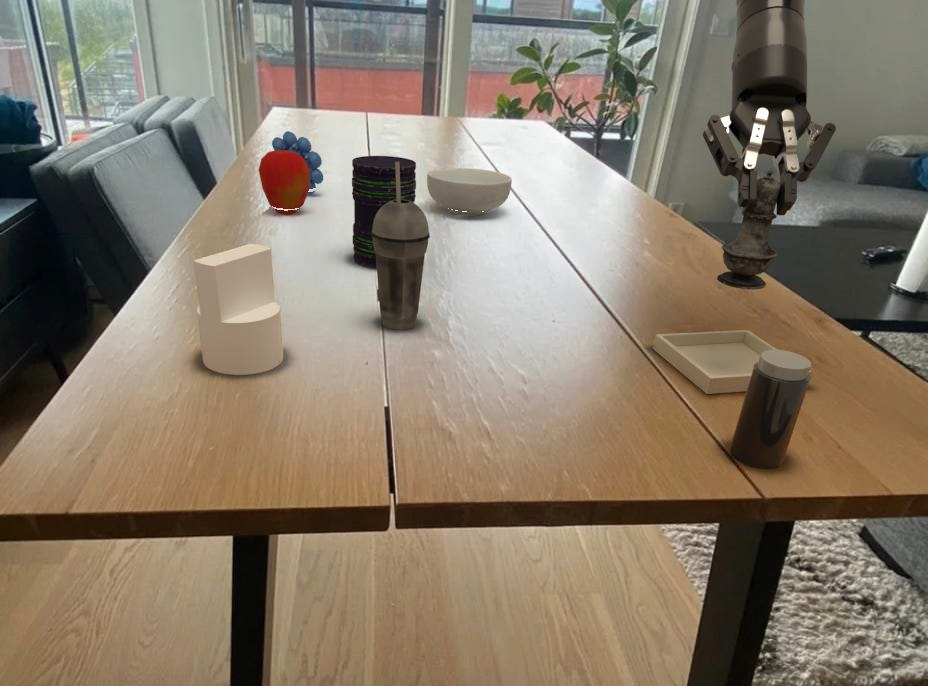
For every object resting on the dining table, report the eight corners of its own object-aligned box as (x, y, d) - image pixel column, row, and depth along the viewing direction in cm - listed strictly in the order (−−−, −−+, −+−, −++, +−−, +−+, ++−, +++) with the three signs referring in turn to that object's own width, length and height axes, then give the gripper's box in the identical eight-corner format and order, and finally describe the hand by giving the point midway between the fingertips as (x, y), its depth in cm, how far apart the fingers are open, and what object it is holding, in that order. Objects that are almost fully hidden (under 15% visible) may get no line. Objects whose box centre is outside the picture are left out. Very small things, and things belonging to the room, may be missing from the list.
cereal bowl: (525, 215, 155) (529, 178, 151) (464, 225, 145) (466, 186, 141) (470, 198, 165) (472, 163, 162) (409, 207, 156) (410, 170, 152)
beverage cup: (435, 320, 102) (443, 160, 91) (411, 338, 96) (416, 169, 86) (387, 309, 104) (389, 152, 94) (360, 326, 99) (359, 161, 88)
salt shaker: (703, 274, 88) (730, 163, 81) (746, 272, 89) (775, 162, 83) (735, 291, 83) (765, 174, 76) (779, 288, 85) (813, 174, 78)
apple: (320, 212, 148) (318, 145, 142) (289, 221, 141) (285, 151, 135) (283, 204, 152) (279, 139, 146) (252, 212, 145) (246, 144, 139)
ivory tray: (743, 344, 101) (747, 329, 99) (806, 387, 90) (811, 371, 89) (652, 348, 97) (655, 334, 96) (706, 394, 87) (710, 378, 86)
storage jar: (425, 265, 123) (428, 166, 115) (370, 272, 118) (370, 169, 110) (395, 248, 130) (397, 154, 122) (342, 254, 125) (340, 157, 117)
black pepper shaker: (763, 441, 78) (792, 347, 72) (793, 466, 74) (827, 368, 68) (719, 444, 77) (746, 349, 71) (748, 470, 73) (778, 371, 67)
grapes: (262, 195, 158) (258, 131, 152) (277, 188, 164) (273, 127, 157) (315, 201, 156) (313, 137, 149) (328, 194, 161) (326, 132, 155)
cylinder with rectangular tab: (242, 337, 93) (232, 238, 87) (299, 355, 90) (294, 253, 83) (185, 361, 87) (170, 255, 80) (245, 381, 83) (234, 272, 77)
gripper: (714, 37, 80) (709, 183, 76) (851, 45, 79) (853, 194, 76) (694, 88, 87) (688, 224, 84) (819, 96, 87) (819, 234, 83)
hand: (766, 209), depth 80 cm, fingers closed on salt shaker, 3 cm apart
